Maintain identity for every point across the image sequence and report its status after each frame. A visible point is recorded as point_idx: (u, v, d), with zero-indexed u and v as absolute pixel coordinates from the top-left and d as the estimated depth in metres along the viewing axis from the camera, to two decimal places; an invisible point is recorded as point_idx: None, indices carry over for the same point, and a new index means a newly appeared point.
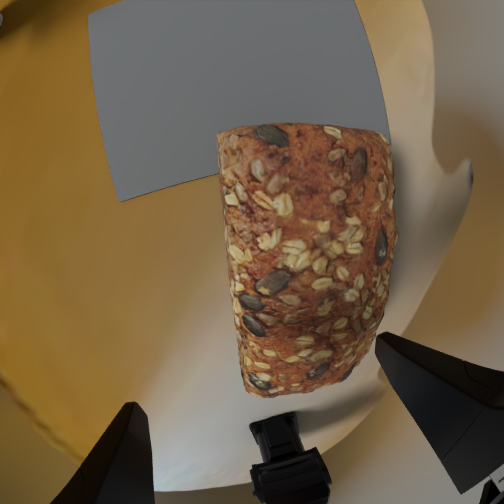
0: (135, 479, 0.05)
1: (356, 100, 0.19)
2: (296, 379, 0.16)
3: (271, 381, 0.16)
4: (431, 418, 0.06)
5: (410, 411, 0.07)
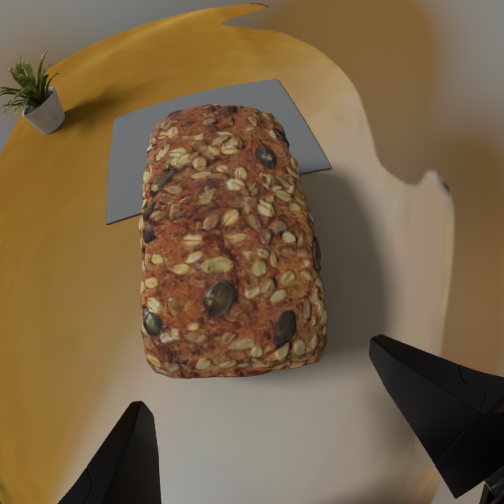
0: (142, 479, 0.05)
1: (289, 143, 0.28)
2: (191, 312, 0.13)
3: (162, 316, 0.13)
4: (425, 422, 0.06)
5: (404, 414, 0.07)
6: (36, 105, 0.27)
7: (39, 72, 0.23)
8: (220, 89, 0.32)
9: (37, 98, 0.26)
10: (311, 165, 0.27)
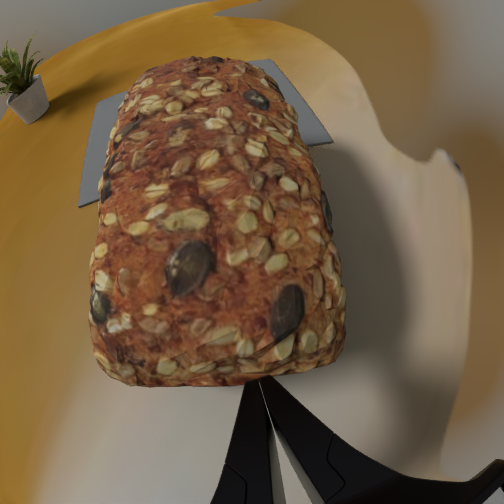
0: (276, 462, 0.06)
1: None
2: (148, 287, 0.08)
3: (111, 296, 0.09)
4: (302, 480, 0.05)
5: (291, 463, 0.06)
6: (20, 92, 0.23)
7: (24, 58, 0.19)
8: None
9: (21, 85, 0.22)
10: (310, 138, 0.23)
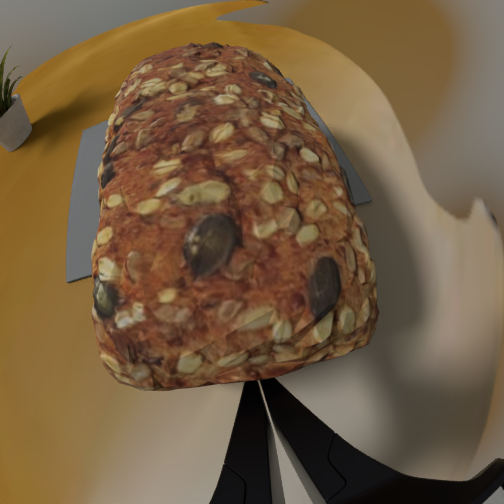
0: (275, 462, 0.06)
1: None
2: (164, 270, 0.07)
3: (119, 285, 0.07)
4: (303, 480, 0.05)
5: None
6: None
7: (0, 77, 0.16)
8: None
9: None
10: None
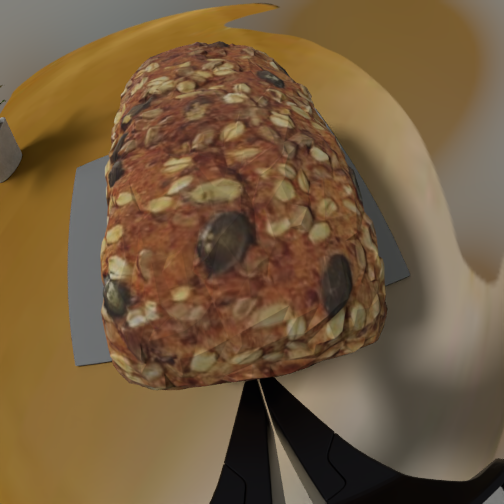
0: (276, 462, 0.06)
1: None
2: (177, 268, 0.07)
3: (130, 284, 0.08)
4: (302, 480, 0.05)
5: None
6: None
7: None
8: None
9: None
10: (385, 274, 0.17)
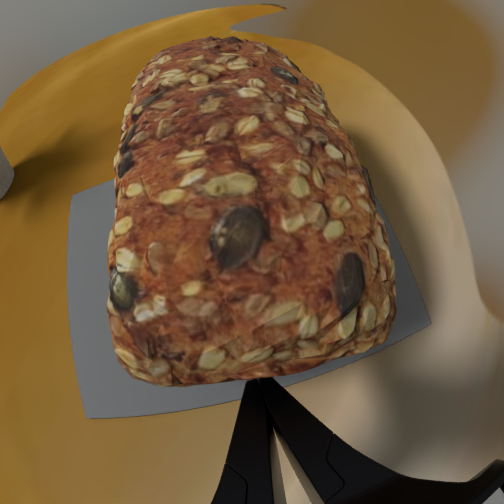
0: (277, 462, 0.06)
1: None
2: (189, 262, 0.07)
3: (138, 277, 0.07)
4: (301, 480, 0.05)
5: (290, 463, 0.06)
6: None
7: None
8: None
9: None
10: (407, 325, 0.15)
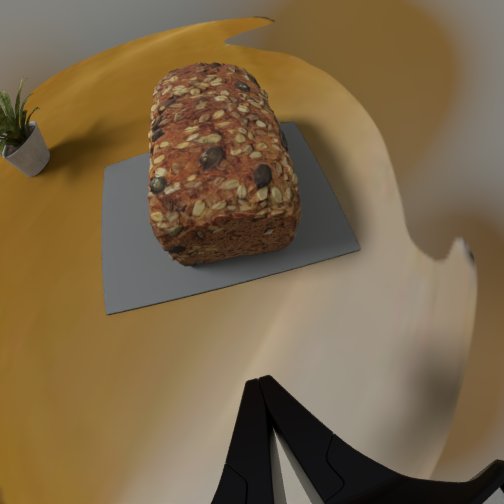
0: (277, 462, 0.06)
1: (314, 216, 0.25)
2: (190, 168, 0.16)
3: (167, 177, 0.16)
4: (301, 480, 0.05)
5: None
6: (16, 145, 0.24)
7: (17, 107, 0.20)
8: None
9: (16, 137, 0.23)
10: (339, 247, 0.24)
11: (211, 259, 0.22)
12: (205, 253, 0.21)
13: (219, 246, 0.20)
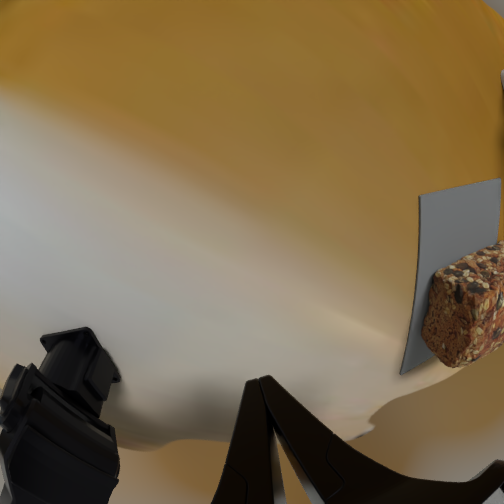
0: (277, 462, 0.06)
1: (427, 347, 0.29)
2: (497, 323, 0.17)
3: (500, 308, 0.17)
4: (301, 480, 0.05)
5: None
6: None
7: None
8: None
9: None
10: (406, 363, 0.29)
11: (435, 298, 0.24)
12: (443, 302, 0.22)
13: (446, 316, 0.22)
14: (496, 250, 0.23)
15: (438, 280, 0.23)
